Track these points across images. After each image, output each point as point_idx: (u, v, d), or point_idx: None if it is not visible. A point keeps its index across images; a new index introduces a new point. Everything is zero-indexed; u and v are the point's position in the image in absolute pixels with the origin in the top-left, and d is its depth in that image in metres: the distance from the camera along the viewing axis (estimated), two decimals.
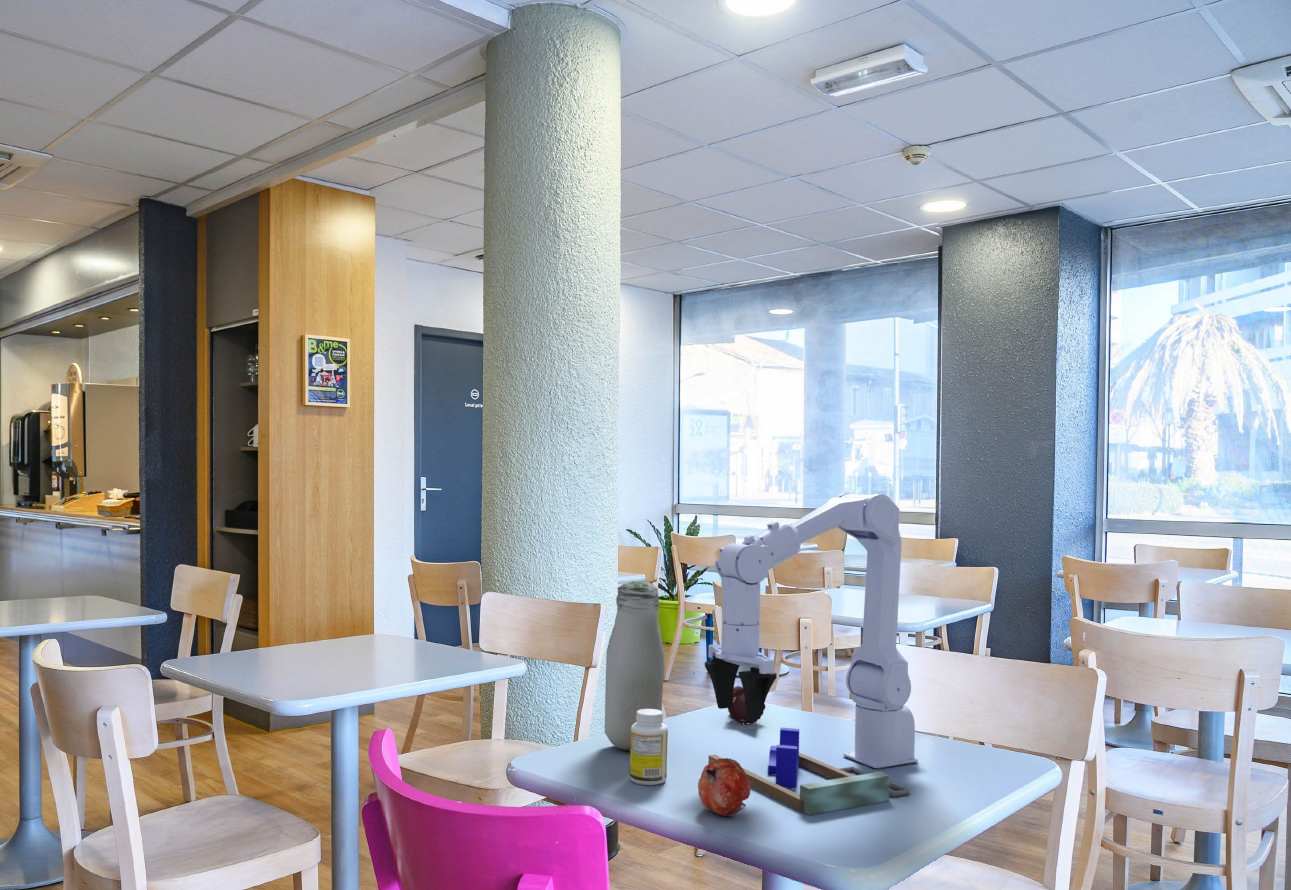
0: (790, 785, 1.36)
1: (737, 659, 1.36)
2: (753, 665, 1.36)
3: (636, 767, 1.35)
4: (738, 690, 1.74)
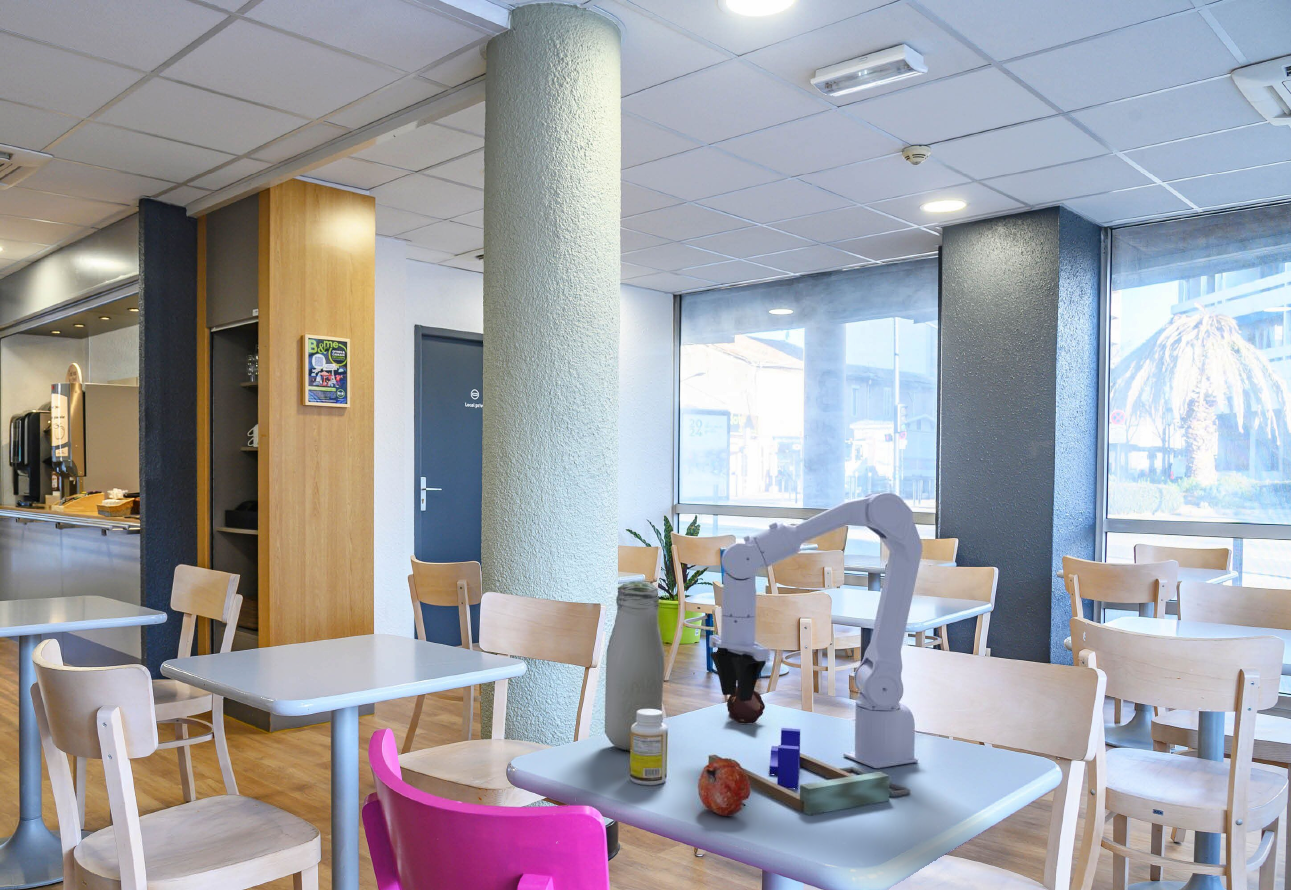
0: (792, 785, 1.36)
1: (735, 648, 1.50)
2: (750, 653, 1.50)
3: (636, 767, 1.35)
4: None
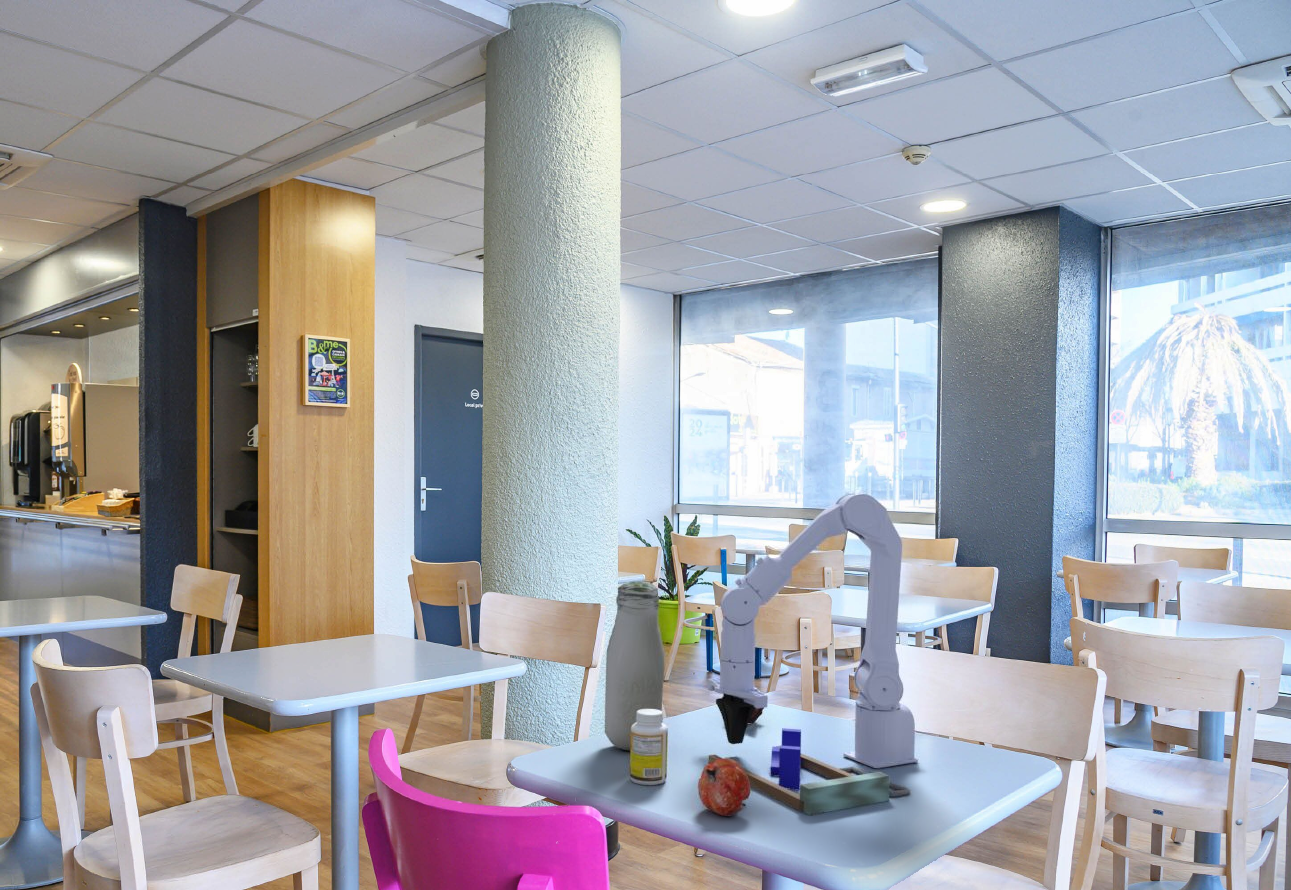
0: (793, 786, 1.35)
1: (734, 694, 1.49)
2: (748, 699, 1.49)
3: (636, 767, 1.35)
4: None
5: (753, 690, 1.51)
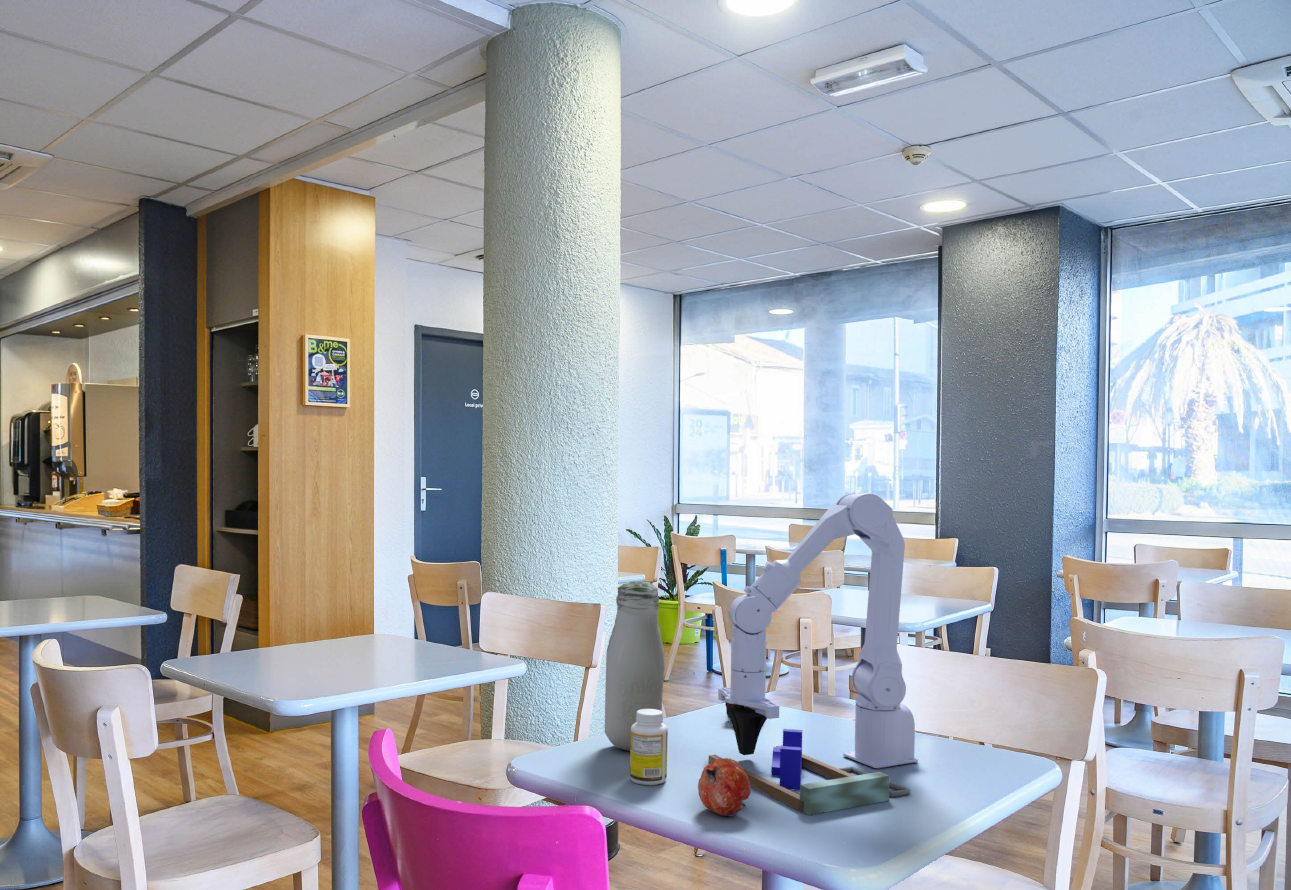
0: (794, 786, 1.35)
1: (745, 704, 1.47)
2: (760, 709, 1.47)
3: (636, 767, 1.35)
4: None
5: (764, 700, 1.48)
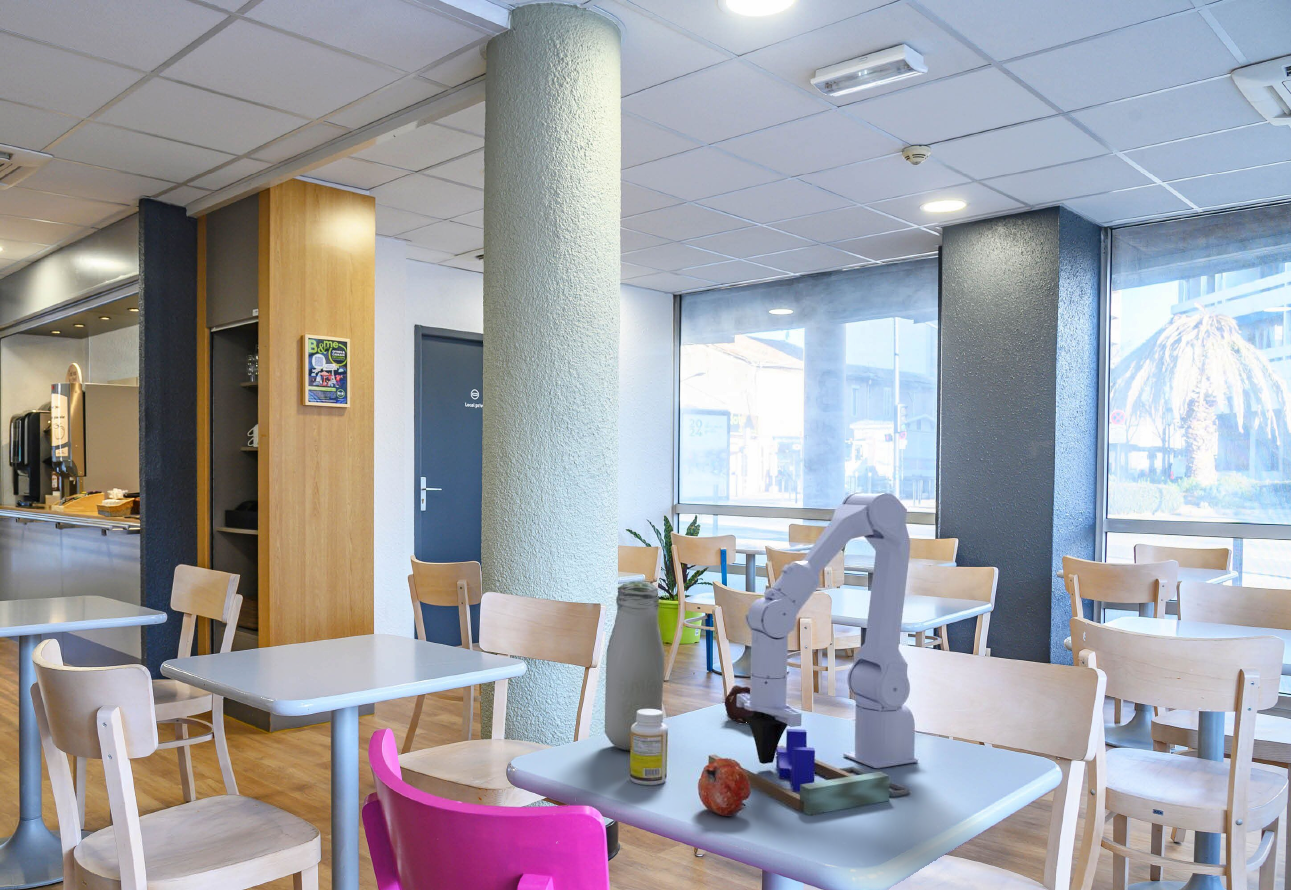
0: None
1: (765, 711, 1.42)
2: (781, 717, 1.41)
3: (636, 767, 1.35)
4: (735, 689, 1.74)
5: (785, 707, 1.43)
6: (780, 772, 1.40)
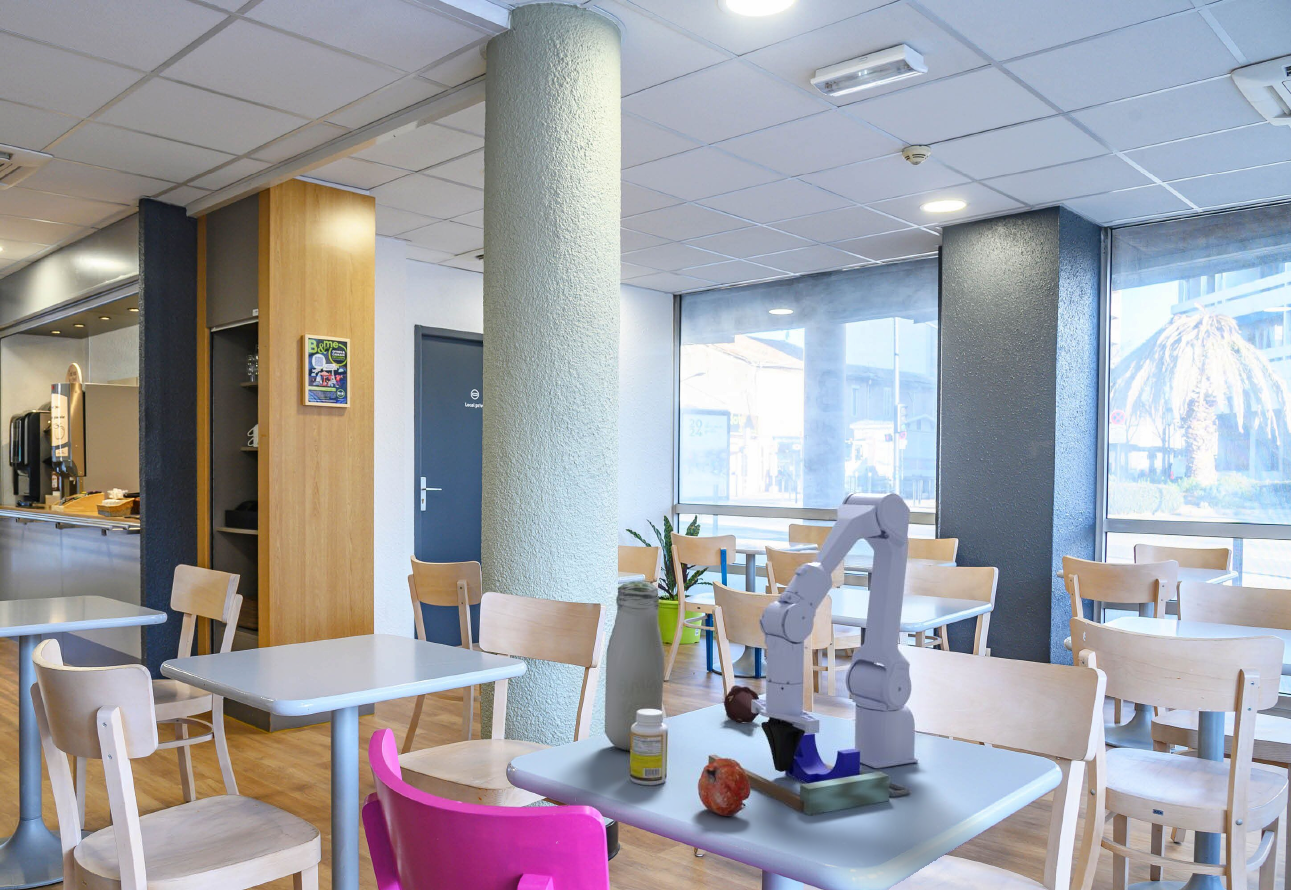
0: None
1: (782, 717, 1.38)
2: (798, 724, 1.38)
3: (636, 767, 1.35)
4: (735, 689, 1.74)
5: (802, 713, 1.40)
6: (809, 778, 1.38)
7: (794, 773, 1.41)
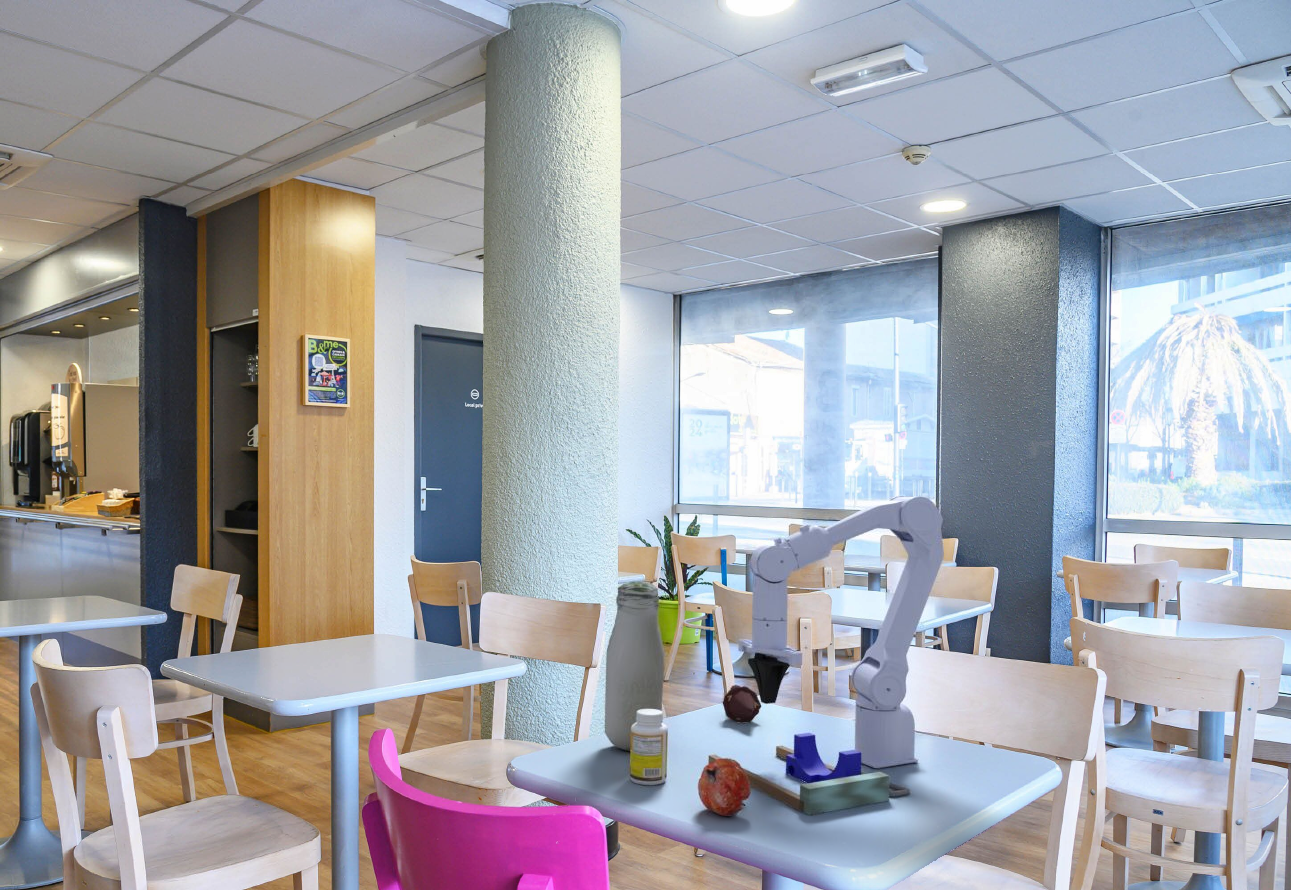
0: None
1: (767, 652, 1.47)
2: (782, 657, 1.47)
3: (636, 767, 1.35)
4: (734, 689, 1.75)
5: (786, 649, 1.49)
6: (810, 780, 1.38)
7: (795, 774, 1.41)
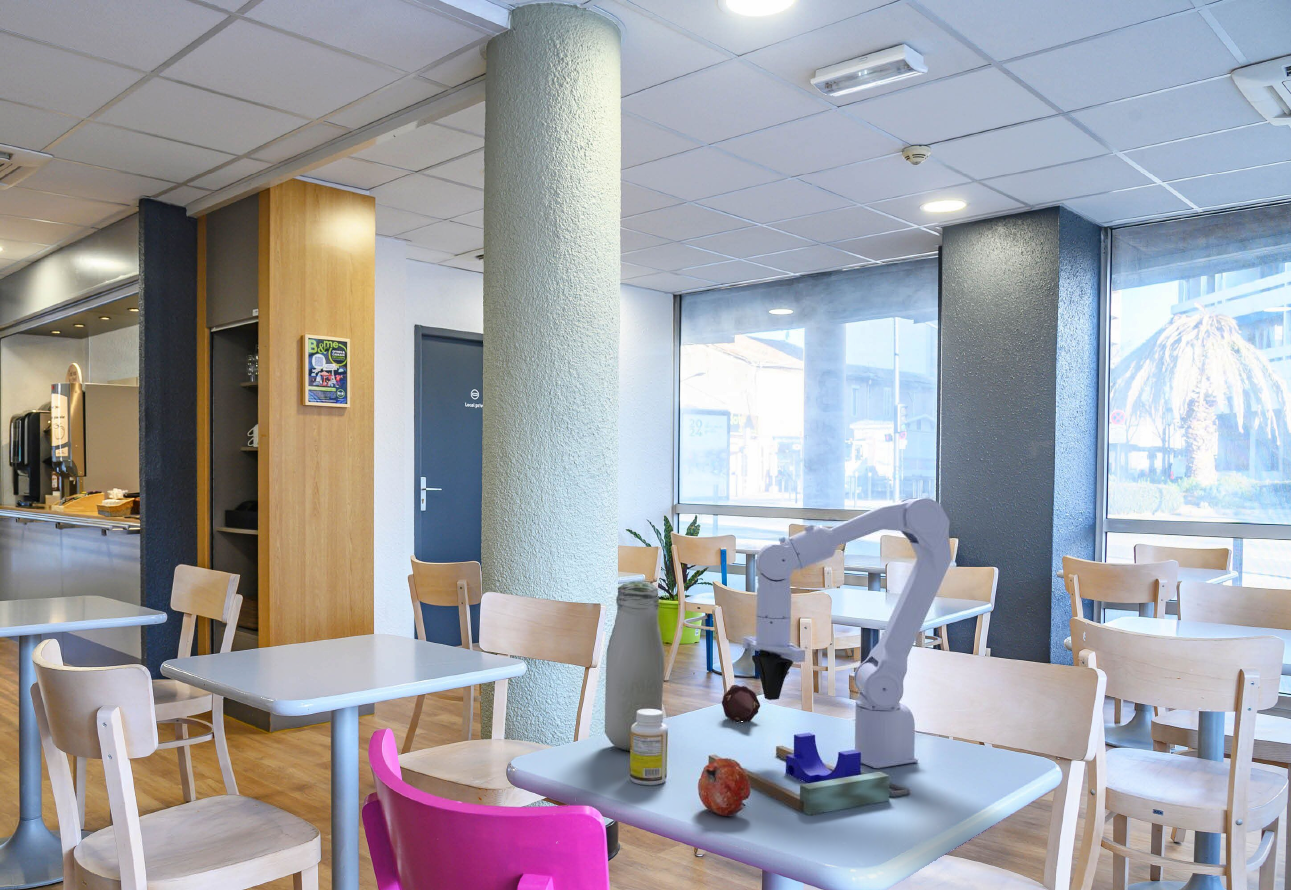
0: None
1: (771, 649, 1.50)
2: (785, 654, 1.49)
3: (636, 767, 1.35)
4: (733, 688, 1.75)
5: (790, 646, 1.51)
6: (810, 780, 1.38)
7: (795, 774, 1.41)
